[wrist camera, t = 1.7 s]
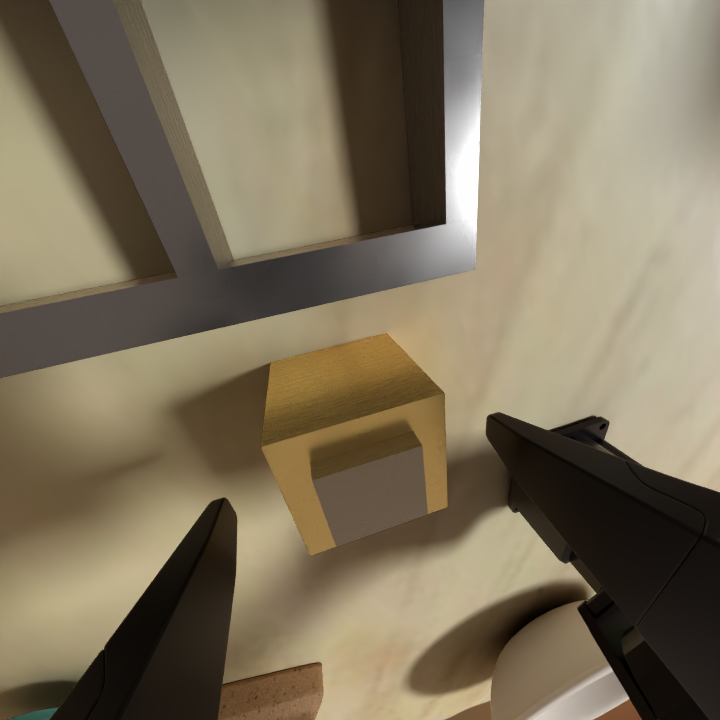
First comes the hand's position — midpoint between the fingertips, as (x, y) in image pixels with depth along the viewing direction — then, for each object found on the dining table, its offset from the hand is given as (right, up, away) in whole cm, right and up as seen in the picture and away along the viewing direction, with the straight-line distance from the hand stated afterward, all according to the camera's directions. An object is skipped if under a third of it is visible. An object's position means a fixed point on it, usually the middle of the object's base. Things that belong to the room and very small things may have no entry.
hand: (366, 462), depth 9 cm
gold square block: (-1, +2, +4) cm, 4 cm away
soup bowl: (+22, -28, +24) cm, 43 cm away
